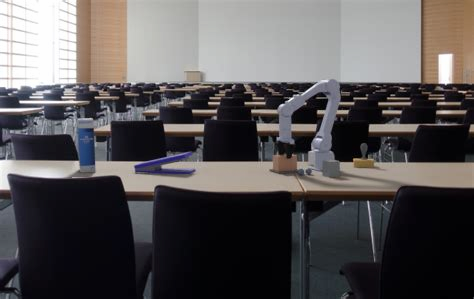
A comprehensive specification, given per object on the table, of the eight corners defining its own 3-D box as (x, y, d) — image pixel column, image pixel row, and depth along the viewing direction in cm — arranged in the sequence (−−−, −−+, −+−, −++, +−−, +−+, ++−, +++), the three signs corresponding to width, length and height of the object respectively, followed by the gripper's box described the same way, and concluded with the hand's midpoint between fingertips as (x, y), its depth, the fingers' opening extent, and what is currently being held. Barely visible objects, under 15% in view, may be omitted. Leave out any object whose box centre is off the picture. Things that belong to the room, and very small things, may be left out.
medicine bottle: (314, 163, 280) (314, 140, 279) (326, 164, 276) (326, 141, 275) (307, 165, 275) (308, 142, 273) (320, 166, 271) (320, 142, 269)
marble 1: (302, 174, 247) (302, 168, 246) (305, 175, 244) (305, 168, 244) (296, 174, 246) (296, 168, 245) (299, 175, 243) (299, 169, 242)
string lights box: (96, 172, 258) (93, 119, 255) (79, 173, 256) (77, 119, 253) (94, 168, 271) (92, 117, 268) (79, 169, 269) (76, 118, 266)
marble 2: (309, 173, 248) (309, 167, 248) (313, 174, 245) (313, 168, 245) (304, 174, 247) (304, 167, 247) (307, 175, 244) (307, 168, 244)
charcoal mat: (291, 169, 262) (291, 167, 262) (301, 172, 253) (301, 170, 253) (269, 170, 257) (269, 169, 257) (278, 174, 248) (278, 172, 248)
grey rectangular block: (332, 174, 245) (333, 159, 244) (339, 176, 240) (339, 161, 239) (322, 175, 243) (322, 160, 242) (328, 177, 238) (329, 161, 237)
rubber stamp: (373, 166, 270) (373, 142, 269) (373, 167, 265) (374, 143, 263) (353, 165, 272) (353, 142, 271) (353, 167, 267) (354, 143, 265)
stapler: (188, 174, 250) (188, 154, 249) (133, 173, 256) (132, 153, 255) (195, 171, 261) (195, 151, 260) (142, 169, 267) (142, 150, 266)
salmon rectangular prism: (291, 168, 259) (291, 154, 259) (296, 170, 254) (297, 155, 253) (273, 169, 256) (273, 155, 255) (278, 171, 250) (278, 156, 250)
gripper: (270, 128, 258) (271, 156, 259) (284, 130, 244) (284, 160, 246) (283, 127, 260) (284, 155, 262) (298, 130, 247) (298, 159, 249)
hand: (285, 157), depth 254 cm, fingers open, 7 cm apart
